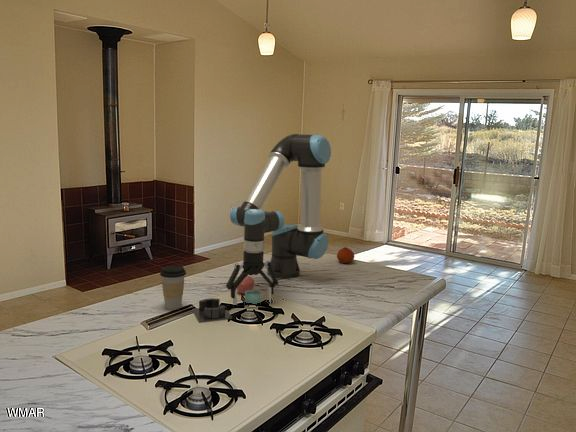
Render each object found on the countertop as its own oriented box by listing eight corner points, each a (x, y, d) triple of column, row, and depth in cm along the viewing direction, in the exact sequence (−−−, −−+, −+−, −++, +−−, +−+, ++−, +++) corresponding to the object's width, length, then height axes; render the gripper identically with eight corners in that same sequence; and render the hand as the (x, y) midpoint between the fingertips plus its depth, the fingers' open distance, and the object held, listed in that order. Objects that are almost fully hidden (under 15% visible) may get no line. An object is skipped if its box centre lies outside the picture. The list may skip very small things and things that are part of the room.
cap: (242, 302, 186) (242, 289, 185) (257, 301, 188) (257, 288, 187) (247, 308, 180) (247, 295, 179) (262, 306, 182) (262, 293, 181)
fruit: (349, 266, 240) (350, 250, 239) (333, 262, 245) (334, 247, 244) (357, 262, 248) (358, 247, 246) (341, 259, 252) (342, 244, 251)
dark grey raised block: (192, 310, 176) (192, 299, 175) (223, 306, 181) (224, 296, 180) (198, 322, 165) (198, 311, 165) (232, 318, 170) (232, 307, 169)
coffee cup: (163, 313, 172) (163, 273, 169) (157, 304, 180) (157, 266, 178) (189, 309, 177) (189, 270, 174) (182, 301, 185) (182, 263, 182)
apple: (257, 293, 196) (258, 274, 195) (244, 297, 191) (244, 278, 190) (245, 288, 201) (245, 270, 200) (232, 292, 196) (232, 274, 195)
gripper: (223, 255, 172) (222, 311, 176) (288, 251, 181) (285, 304, 185) (218, 250, 179) (217, 304, 182) (280, 246, 188) (278, 297, 192)
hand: (252, 304), depth 184 cm, fingers open, 13 cm apart
